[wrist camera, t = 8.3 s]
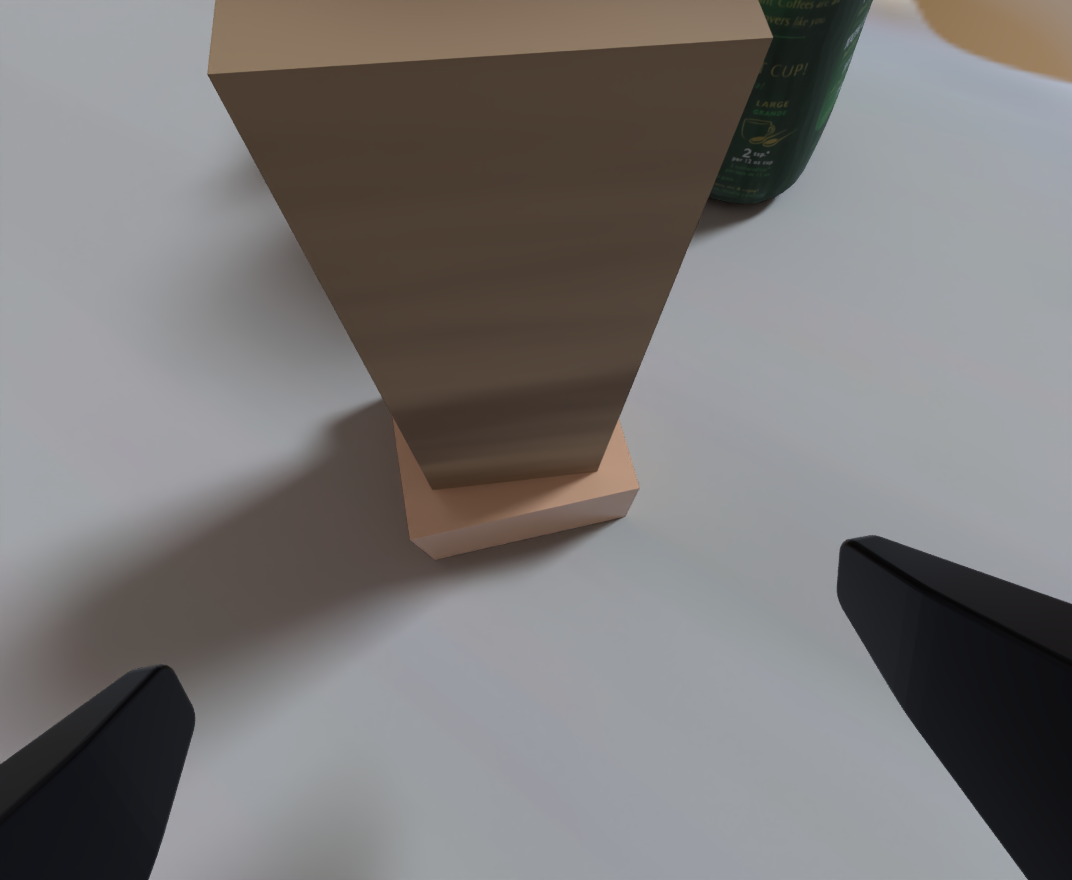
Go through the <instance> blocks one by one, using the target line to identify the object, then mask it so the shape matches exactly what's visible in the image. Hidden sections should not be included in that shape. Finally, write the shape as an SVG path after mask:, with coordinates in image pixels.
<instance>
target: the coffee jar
mask: <svg viewBox="0 0 1072 880" xmlns="http://www.w3.org/2000/svg"><path fill="white" fill-rule="evenodd" d="M758 1H759V3H760V6H761V8H762V11H763V13H764V16H765V18H766V21H767V23H768V26H769V28H770V31H771V33H772V36H773V39H772V42H771V44H770V47H769V49H768V52H767V54H766V57H765V59H764V62H763V64H762V66H761V69H760V71H759V74H758V76H757V79H756V81H755V84H754V86H753V89H752V91H751V94H750V96H749V98H748V101H747V103H746V106H745V108H744V111H743V113H742V116H741V118H740V121H739V123H738V126H737V128H736V131H735V133H734V135H733V138H732V140H731V143H730V145H729V148H728V150H727V153H726V155H725V158H724V160H723V163H722V165H721V168H720V170H719V172H718V175H717V177H716V180H715V182H714V185H713V187H712V190H711V192H710V195H709V198H713V199H718V200H722V201H726V202H733V203H740V204H750V203H759V202H762V201H765V200H767V199H770V198H773V197H775V196H777V195H779V194H781V193H783V192H784V191H785V190H787V189H788V188H789V187H790V186H791V185H793V184H794V183H795V181H796V180H797V179H798V178H799V176H800V175H801V173H802V172H803V171H804V169H805V167H806V165H807V163H808V161H809V159H810V157H811V155H812V153H813V151H814V149H815V147H816V145H817V143H818V141H819V139H820V137H821V135H822V133H823V130H824V128H825V126H826V124H827V121H828V119H829V116H830V114H831V112H832V110H833V107H834V104H835V102H836V99H837V97H838V94H839V91H840V89H841V86H842V83H843V81H844V78H845V75H846V72H847V70H848V67H849V64H850V61H851V59H852V56H853V53H854V50H855V47H856V44H857V42H858V39H859V36H860V33H861V31H862V28H863V25H864V22H865V20H866V17H867V14H868V11H869V9H870V6H871V4H872V1H873V0H758Z"/></svg>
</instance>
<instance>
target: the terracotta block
mask: <svg viewBox="0 0 1072 880" xmlns="http://www.w3.org/2000/svg"><path fill="white" fill-rule="evenodd" d="M392 418H393V416H392ZM393 425H394V432H395V439H396V446H397V453H398V460H399V467H400V474H401V481H402V488H403V495H404V502H405V509H406V516H407V523H408V530H409V537H410V540H411V541H412V542H413V543H414V544H416V545H417V546H418V547H419V548H421V549H422V550H423V551H424V552H426V553H427V554H428V555H429V556H431V557H432V558H433V559H434V560H437V559H441V558H445V557H450V556H454V555H458V554H463V553H467V552H472V551H476V550H480V549H485V548H489V547H494V546H498V545H502V544H507V543H511V542H515V541H520V540H524V539H529V538H533V537H537V536H542V535H546V534H551V533H555V532H559V531H564V530H568V529H573V528H577V527H581V526H586V525H590V524H594V523H599V522H603V521H608V520H612V519H616V518H621V517H625V516H626V514H627V512H628V510H629V508H630V506H631V504H632V502H633V500H634V498H635V496H636V494H637V492H638V490H639V488H640V487H639V484H638V481H637V477H636V474H635V471H634V467H633V464H632V461H631V457H630V454H629V451H628V447H627V444H626V441H625V437H624V434H623V431H622V427H621V424H620V421H619V419H618V422H617V424H616V426H615V429H614V431H613V434H612V436H611V439H610V441H609V444H608V446H607V449H606V451H605V454H604V456H603V458H602V461H601V463H600V466H599V468H598V471H596V472H587V473H578V474H570V475H561V476H552V477H543V478H535V479H526V480H517V481H508V482H499V483H491V484H482V485H473V486H464V487H455V488H447V489H438V490H432V488H431V487H430V485H429V483H428V481H427V479H426V477H425V476H424V474H423V472H422V470H421V468H420V466H419V464H418V463H417V461H416V459H415V457H414V455H413V453H412V452H411V450H410V448H409V446H408V444H407V442H406V440H405V439H404V437H403V435H402V433H401V431H400V429H399V428H398V426H397V424H396V422H395V420H394V418H393Z"/></svg>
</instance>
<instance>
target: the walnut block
mask: <svg viewBox="0 0 1072 880" xmlns="http://www.w3.org/2000/svg"><path fill="white" fill-rule="evenodd" d="M772 39H773V36H772V33H771V31H770V28H769V26H768V23H767V21H766V18H765V16H764V13H763V11H762V8H761V6H760V3H759V1H758V0H215V9H214V18H213V27H212V36H211V45H210V54H209V64H208V73H207V75H208V76H209V78H210V80H211V82H212V84H213V86H214V87H215V89H216V91H217V93H218V95H219V97H220V99H221V100H222V102H223V104H224V106H225V108H226V110H227V112H228V113H229V115H230V117H231V119H232V121H233V123H234V124H235V126H236V128H237V130H238V132H239V134H240V136H241V137H242V139H243V141H244V143H245V145H246V147H247V148H248V150H249V152H250V154H251V156H252V158H253V160H254V161H255V163H256V165H257V167H258V169H259V171H260V172H261V174H262V176H263V178H264V180H265V182H266V184H267V185H268V187H269V189H270V191H271V193H272V195H273V197H274V198H275V200H276V202H277V204H278V206H279V208H280V209H281V211H282V213H283V215H284V217H285V219H286V221H287V222H288V224H289V226H290V228H291V230H292V232H293V233H294V235H295V237H296V239H297V241H298V243H299V245H300V246H301V248H302V250H303V252H304V254H305V256H306V257H307V259H308V261H309V263H310V265H311V267H312V269H313V270H314V272H315V274H316V276H317V278H318V280H319V282H320V283H321V285H322V287H323V289H324V291H325V293H326V294H327V296H328V298H329V300H330V302H331V304H332V306H333V307H334V309H335V311H336V313H337V315H338V317H339V318H340V320H341V322H342V324H343V326H344V328H345V330H346V331H347V333H348V335H349V337H350V339H351V341H352V342H353V344H354V346H355V348H356V350H357V352H358V354H359V355H360V357H361V359H362V361H363V363H364V365H365V367H366V368H367V370H368V372H369V374H370V376H371V378H372V379H373V381H374V383H375V385H376V387H377V389H378V391H379V392H380V394H381V396H382V398H383V400H384V402H385V403H386V405H387V407H388V409H389V411H390V413H391V415H392V416H393V418H394V420H395V422H396V424H397V426H398V428H399V429H400V431H401V433H402V435H403V437H404V439H405V440H406V442H407V444H408V446H409V448H410V450H411V452H412V453H413V455H414V457H415V459H416V461H417V463H418V464H419V466H420V468H421V470H422V472H423V474H424V476H425V477H426V479H427V481H428V483H429V485H430V487H431V488H432V490H438V489H447V488H455V487H464V486H473V485H482V484H491V483H499V482H508V481H517V480H526V479H535V478H543V477H552V476H561V475H570V474H578V473H587V472H596V471H598V468H599V466H600V463H601V461H602V458H603V456H604V454H605V451H606V449H607V446H608V444H609V441H610V439H611V436H612V434H613V431H614V429H615V426H616V424H617V422H618V419H619V417H620V414H621V412H622V409H623V407H624V404H625V402H626V399H627V397H628V394H629V392H630V389H631V387H632V385H633V382H634V380H635V377H636V375H637V372H638V370H639V367H640V365H641V362H642V360H643V357H644V355H645V352H646V350H647V348H648V345H649V343H650V340H651V338H652V335H653V333H654V330H655V328H656V325H657V323H658V320H659V318H660V315H661V313H662V311H663V308H664V306H665V303H666V301H667V298H668V296H669V293H670V291H671V288H672V286H673V283H674V281H675V278H676V276H677V274H678V271H679V269H680V266H681V264H682V261H683V259H684V256H685V254H686V251H687V249H688V246H689V244H690V242H691V239H692V237H693V234H694V232H695V229H696V227H697V224H698V222H699V219H700V217H701V214H702V212H703V209H704V207H705V205H706V202H707V200H708V197H709V195H710V192H711V190H712V187H713V185H714V182H715V180H716V177H717V175H718V172H719V170H720V168H721V165H722V163H723V160H724V158H725V155H726V153H727V150H728V148H729V145H730V143H731V140H732V138H733V135H734V133H735V131H736V128H737V126H738V123H739V121H740V118H741V116H742V113H743V111H744V108H745V106H746V103H747V101H748V98H749V96H750V94H751V91H752V89H753V86H754V84H755V81H756V79H757V76H758V74H759V71H760V69H761V66H762V64H763V62H764V59H765V57H766V54H767V52H768V49H769V47H770V44H771V42H772Z"/></svg>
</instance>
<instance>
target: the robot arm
mask: <svg viewBox="0 0 1072 880" xmlns="http://www.w3.org/2000/svg"><path fill="white" fill-rule="evenodd" d="M837 596H838V599H839V602H840V605H841V607H842V609H843V611H844V612H845V614H846V616H847V617H848V619H849V621H850V622H851V624H852V626H853V627H854V629H855V631H856V632H857V634H858V636H859V637H860V639H861V641H862V642H863V644H864V646H865V647H866V649H867V651H868V652H869V654H870V656H871V657H872V659H873V661H874V663H875V664H876V666H877V668H878V669H879V671H880V673H881V674H882V676H883V678H884V679H885V681H886V683H887V684H888V686H889V688H890V689H891V691H892V693H893V694H894V696H895V697H896V699H897V701H898V702H899V704H900V705H901V707H902V708H903V710H904V711H905V713H906V714H907V716H908V717H909V719H910V720H911V721H912V723H913V724H914V726H915V727H916V728H917V730H918V731H919V733H920V734H921V735H922V737H923V738H924V739H925V741H926V742H927V743H928V745H929V746H930V748H931V749H932V750H933V752H934V753H935V754H936V756H937V757H938V758H939V760H940V761H941V762H942V764H943V765H944V767H945V768H946V769H947V771H948V772H949V773H950V775H951V776H952V777H953V779H954V780H955V781H956V783H957V784H958V786H959V787H960V788H961V790H962V791H963V792H964V794H965V795H966V796H967V798H968V799H969V800H970V802H971V803H972V805H973V806H974V807H975V809H976V810H977V811H978V813H979V814H980V815H981V817H982V818H983V820H984V821H985V822H986V824H987V825H988V826H989V828H990V829H991V830H992V832H993V833H994V834H995V836H996V837H997V839H998V840H999V841H1000V843H1001V844H1002V845H1003V847H1004V848H1005V849H1006V851H1007V852H1008V853H1009V855H1010V856H1011V858H1012V859H1013V860H1014V862H1015V863H1016V864H1017V866H1018V867H1019V868H1020V870H1021V871H1022V872H1023V874H1024V875H1025V877H1026V878H1027V879H1028V880H1072V604H1071V603H1068V602H1065V601H1062V600H1059V599H1056V598H1053V597H1051V596H1048V595H1045V594H1042V593H1039V592H1036V591H1033V590H1031V589H1028V588H1025V587H1022V586H1019V585H1016V584H1014V583H1011V582H1008V581H1005V580H1002V579H999V578H996V577H994V576H991V575H988V574H985V573H982V572H979V571H976V570H974V569H971V568H968V567H965V566H962V565H959V564H957V563H954V562H951V561H948V560H945V559H942V558H939V557H937V556H934V555H931V554H928V553H925V552H922V551H920V550H917V549H914V548H911V547H908V546H905V545H902V544H900V543H897V542H894V541H891V540H888V539H885V538H883V537H880V536H876V535H869V536H863V537H858V538H853V539H848V540H846V541H844V542H843V543H842V545H841V547H840V553H839V565H838V578H837ZM194 727H195V713H194V708H193V706H192V704H191V702H190V700H189V698H188V696H187V695H186V693H185V691H184V689H183V687H182V685H181V683H180V681H179V680H178V678H177V676H176V674H175V672H174V671H173V669H172V668H170V667H169V666H167V665H161V664H160V665H155V666H149V667H144V668H138V669H134V670H132V671H130V672H128V673H126V674H125V675H124V676H122V677H121V678H119V679H118V680H117V681H115V682H114V683H112V684H111V685H110V686H108V687H107V688H106V689H104V690H103V691H101V692H100V693H99V694H97V695H96V696H94V697H93V698H92V699H90V700H89V701H88V702H86V703H85V704H83V705H82V706H81V707H79V708H78V709H76V710H75V711H74V712H72V713H71V714H69V715H68V716H67V717H65V718H64V719H63V720H61V721H60V722H58V723H57V724H56V725H54V726H53V727H51V728H50V729H49V730H47V731H46V732H45V733H43V734H42V735H40V736H39V737H38V738H36V739H35V740H33V741H32V742H31V743H29V744H28V745H26V746H25V747H24V748H22V749H21V750H20V751H18V752H17V753H15V754H14V755H13V756H11V757H10V758H8V759H7V760H6V761H4V762H3V763H2V764H0V880H149V877H150V874H151V871H152V869H153V866H154V863H155V860H156V858H157V855H158V852H159V848H160V845H161V842H162V839H163V836H164V833H165V829H166V826H167V822H168V819H169V815H170V812H171V808H172V805H173V801H174V798H175V794H176V791H177V787H178V784H179V780H180V777H181V773H182V770H183V766H184V763H185V759H186V756H187V752H188V749H189V745H190V742H191V738H192V735H193V731H194Z"/></svg>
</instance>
